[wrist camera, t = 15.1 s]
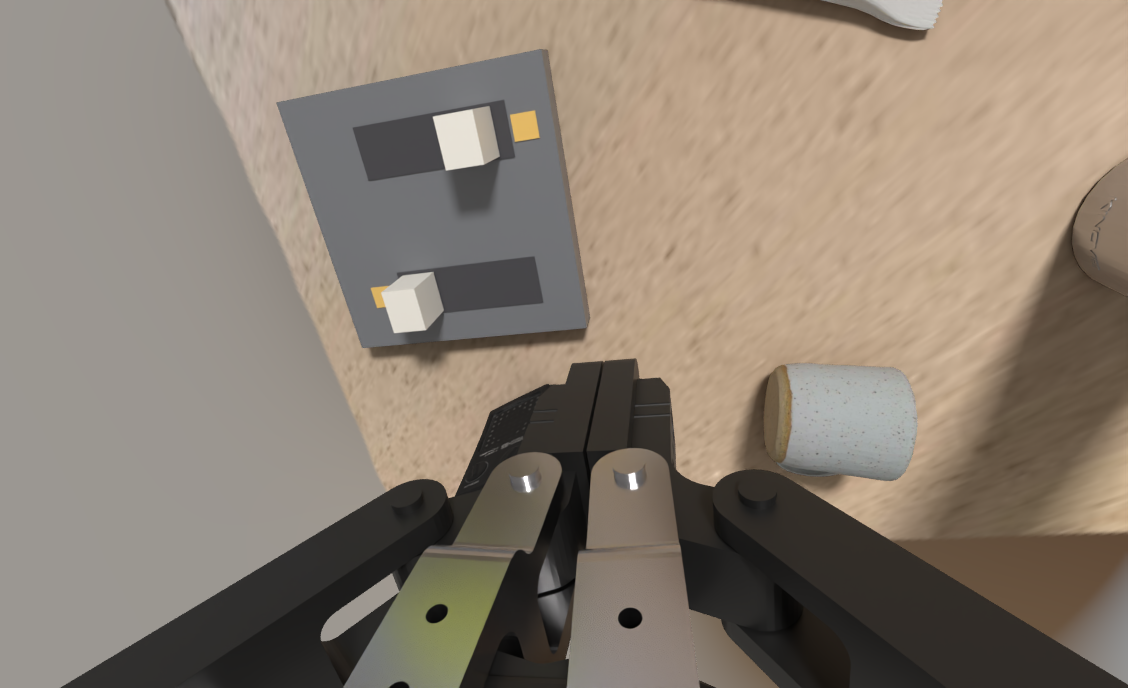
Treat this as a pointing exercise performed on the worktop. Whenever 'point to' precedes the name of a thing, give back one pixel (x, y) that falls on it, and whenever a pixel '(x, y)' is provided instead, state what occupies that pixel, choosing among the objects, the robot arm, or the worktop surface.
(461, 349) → the worktop surface
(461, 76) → the switch bank
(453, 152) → the tab
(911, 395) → the ceramic mug
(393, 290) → the tab
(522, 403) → the portable radio
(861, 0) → the food package
